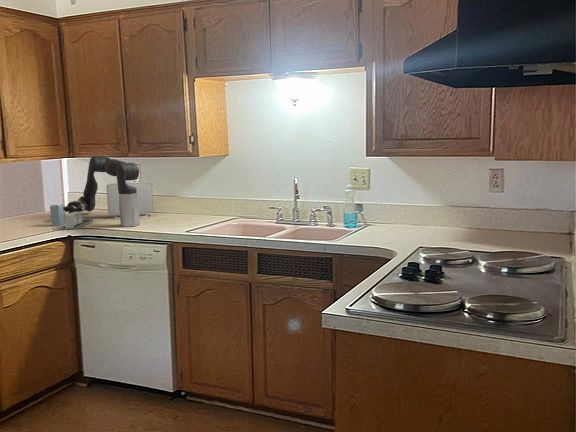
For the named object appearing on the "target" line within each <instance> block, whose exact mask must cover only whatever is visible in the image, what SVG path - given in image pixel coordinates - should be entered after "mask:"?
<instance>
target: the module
mask: <svg viewBox="0 0 576 432" xmlns="http://www.w3.org/2000/svg"><path fill="white" fill-rule="evenodd" d="M63 207H64V204H63V203H53V204H51V205H49V210H50V212H49V213H50V221H51V222H50V226H51V227H61V226H62V227H63V226H65V220H64V216H65V213H64V212H65V211H64V210H63Z"/></svg>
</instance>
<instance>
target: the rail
mask: <svg viewBox="0 0 576 432" xmlns="http://www.w3.org/2000/svg"><path fill="white" fill-rule="evenodd" d="M82 212H83V211H82ZM82 212H72V213H70V214H69V213H68V214H64V225H62V227H61V230H78V229H81V228H83V227H86V226H88V225H90V224H93V222H94V219H92V218H91V219H83V213H82Z"/></svg>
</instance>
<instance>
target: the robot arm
mask: <svg viewBox="0 0 576 432" xmlns="http://www.w3.org/2000/svg"><path fill="white" fill-rule="evenodd" d="M95 172H96V173H106V174H107V175H109V176H112V177H116V183H117V184H118V192H119V209H120V215H119V216H120V219H119V221H120V222H119V223H120V227H125V228H126V227H136V226H139V225H140V224H141V223H140V222H141V221H140V220H141V219H140V218H141V217H139V207H137V190H136V188H135V187H132V186H129V185H127V184H126V183H127V181H134V180H136V179H138V178H139V175H140V169H139V166H138V165H137V164H136V163H134V162H125V161H121V160H119V159H116V158H115V159H114V158H110V157H107V156H102V155H92V156H91V157H90V159H89V162H88V169H87V174H86V175H87V176H86V177H87V178H86V183H85V187H84V190H83V192H82V195H83V196H80V197H79V198H78V200H73V201H70V202H68V203H67V205H65V206H64V205H63V210H64V214H65V213H68V214H70V213H72V212H84V211H86V212H87V213H89V212H93V210H95V208H96V194H97V192H98V189H99V188H98V181H97V180H96V178H95Z"/></svg>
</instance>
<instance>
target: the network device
mask: <svg viewBox="0 0 576 432" xmlns="http://www.w3.org/2000/svg"><path fill="white" fill-rule="evenodd" d="M126 184H127V185H129V186H132V187H135V188H136V190H137V207H139V217H140V218H147V217H149V216H148V214H152V213H153V212H154V196H153V195H154V194H153V184H152V182H150V181H139V182H138V181H137V182H126ZM105 187H106V199H107V200H106V202H107V203H106V204H107V214H108V215H109V216H113V217H114V218H113V219H115V220H118V219H119V220H120V209H119V192H118V184H117V182H115V183H108V184H106V186H105Z"/></svg>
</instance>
